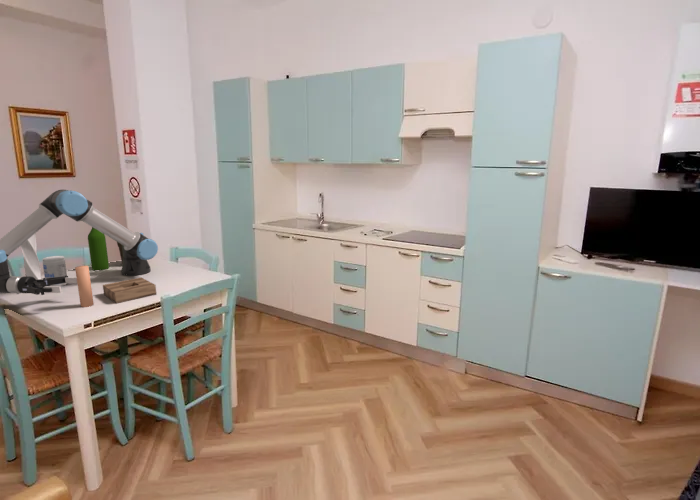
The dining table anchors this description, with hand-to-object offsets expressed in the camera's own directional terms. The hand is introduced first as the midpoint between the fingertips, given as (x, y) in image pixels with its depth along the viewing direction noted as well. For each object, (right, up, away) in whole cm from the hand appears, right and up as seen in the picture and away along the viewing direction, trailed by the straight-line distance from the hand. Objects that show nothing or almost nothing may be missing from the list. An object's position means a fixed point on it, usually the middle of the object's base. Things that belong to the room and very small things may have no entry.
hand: (70, 284), depth 185 cm
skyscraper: (-45, -2, +38) cm, 59 cm away
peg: (+6, -9, +3) cm, 11 cm away
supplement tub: (-29, -3, +32) cm, 44 cm away
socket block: (+17, -6, +17) cm, 25 cm away
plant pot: (-11, +7, +76) cm, 77 cm away
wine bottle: (-25, +4, +64) cm, 69 cm away
